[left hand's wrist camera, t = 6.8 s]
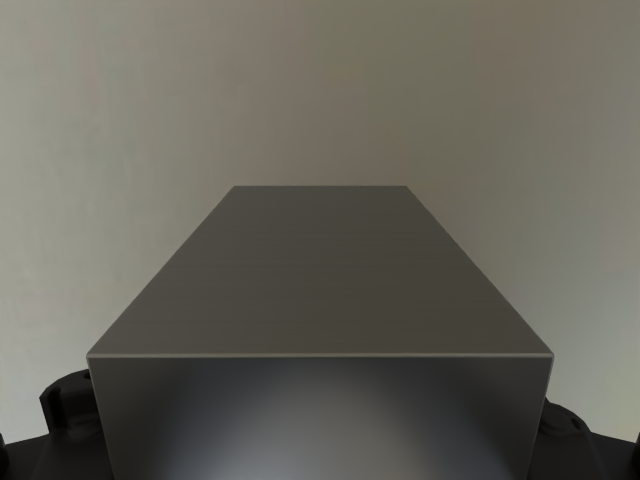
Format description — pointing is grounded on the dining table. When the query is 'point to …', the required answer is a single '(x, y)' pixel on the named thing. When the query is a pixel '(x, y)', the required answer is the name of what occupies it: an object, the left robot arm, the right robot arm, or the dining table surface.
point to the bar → (320, 350)
